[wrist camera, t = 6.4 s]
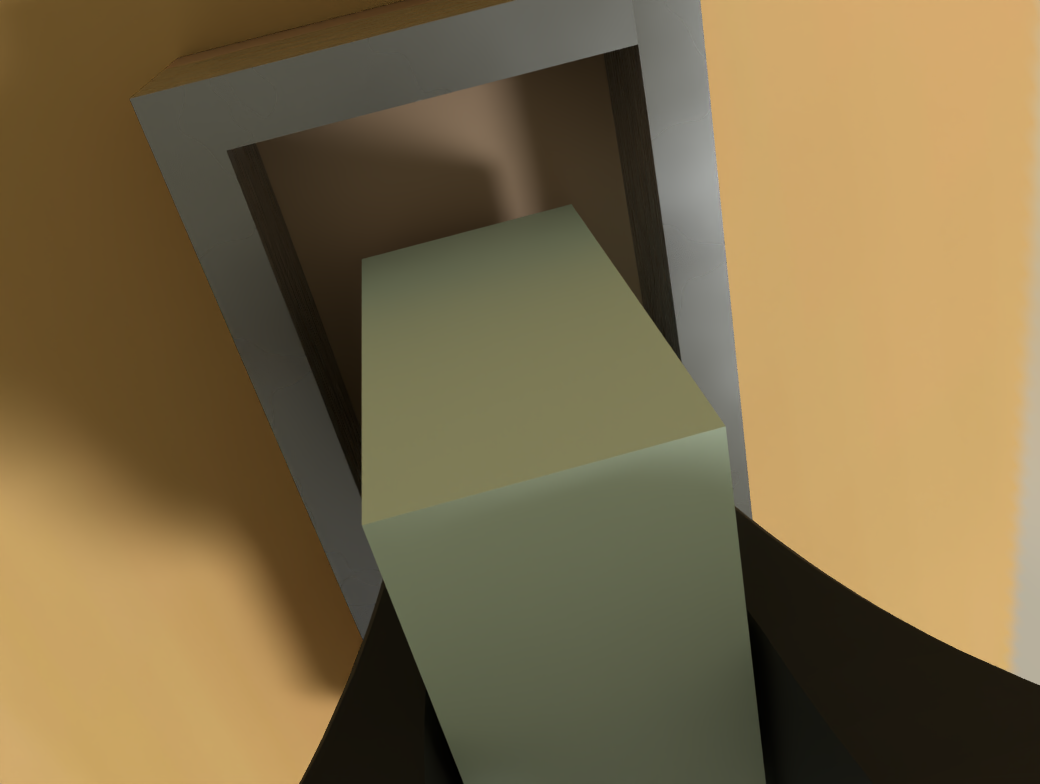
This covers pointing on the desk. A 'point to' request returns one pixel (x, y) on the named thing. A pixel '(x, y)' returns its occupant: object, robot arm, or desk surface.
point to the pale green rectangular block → (553, 514)
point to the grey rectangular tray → (438, 193)
